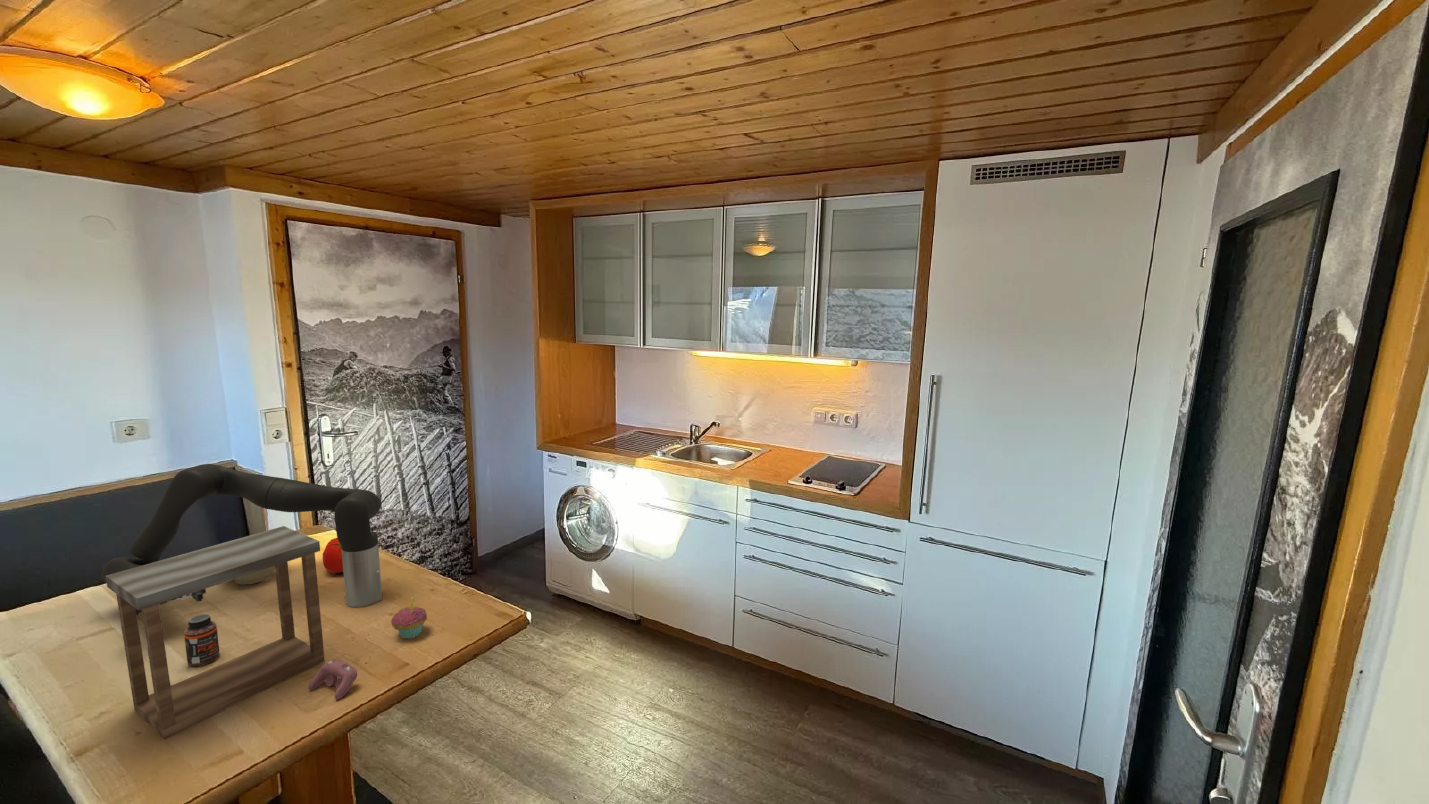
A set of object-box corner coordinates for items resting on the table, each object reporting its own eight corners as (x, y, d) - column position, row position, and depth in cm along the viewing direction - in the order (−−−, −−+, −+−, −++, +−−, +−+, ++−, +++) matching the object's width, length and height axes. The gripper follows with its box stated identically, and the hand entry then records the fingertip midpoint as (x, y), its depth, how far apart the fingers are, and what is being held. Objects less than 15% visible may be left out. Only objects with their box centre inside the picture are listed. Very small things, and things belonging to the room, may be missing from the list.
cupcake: (435, 630, 155) (432, 589, 153) (406, 646, 147) (404, 604, 145) (413, 622, 158) (411, 582, 156) (385, 637, 151) (382, 596, 149)
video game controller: (353, 698, 130) (364, 665, 132) (336, 701, 126) (347, 667, 128) (322, 687, 133) (333, 655, 135) (304, 690, 129) (315, 657, 131)
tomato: (319, 568, 188) (317, 538, 186) (365, 556, 197) (363, 528, 195) (328, 583, 178) (325, 552, 176) (375, 570, 187) (373, 540, 186)
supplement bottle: (200, 669, 136) (195, 626, 134) (181, 665, 137) (175, 623, 135) (226, 655, 141) (221, 613, 139) (207, 651, 142) (202, 610, 141)
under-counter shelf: (127, 712, 121) (105, 575, 116) (295, 638, 149) (283, 526, 144) (158, 743, 113) (136, 598, 108) (330, 659, 141) (319, 541, 135)
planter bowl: (260, 591, 172) (256, 558, 170) (208, 589, 172) (203, 556, 170) (299, 567, 188) (296, 536, 186) (251, 565, 188) (247, 535, 186)
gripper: (113, 584, 143) (137, 603, 136) (186, 564, 156) (212, 580, 148) (117, 611, 145) (141, 631, 137) (189, 589, 157) (215, 606, 149)
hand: (178, 604), depth 142 cm, fingers open, 8 cm apart
